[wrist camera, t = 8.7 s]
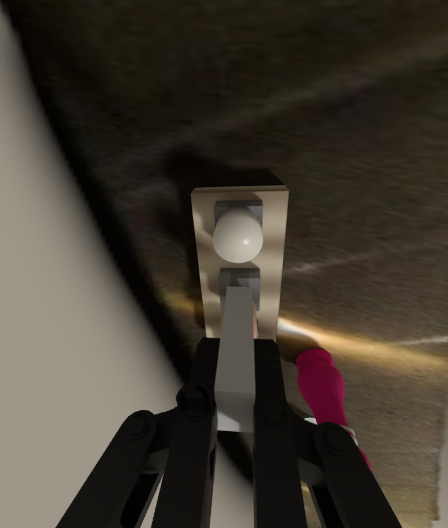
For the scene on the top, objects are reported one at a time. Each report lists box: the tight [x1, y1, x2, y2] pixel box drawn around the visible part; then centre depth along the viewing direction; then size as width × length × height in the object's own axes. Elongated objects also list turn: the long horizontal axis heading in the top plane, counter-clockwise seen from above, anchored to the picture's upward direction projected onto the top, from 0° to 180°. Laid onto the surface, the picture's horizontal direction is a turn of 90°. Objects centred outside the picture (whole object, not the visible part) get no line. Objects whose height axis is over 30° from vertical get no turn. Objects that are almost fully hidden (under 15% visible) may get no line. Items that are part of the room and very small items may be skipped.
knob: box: [213, 208, 263, 263], centre depth 26 cm, size 5×5×5 cm
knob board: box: [191, 185, 289, 343], centre depth 33 cm, size 25×11×6 cm, turn 3°
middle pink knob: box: [219, 302, 257, 339], centre depth 28 cm, size 4×4×6 cm
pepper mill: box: [296, 349, 372, 472], centre depth 35 cm, size 7×7×20 cm
